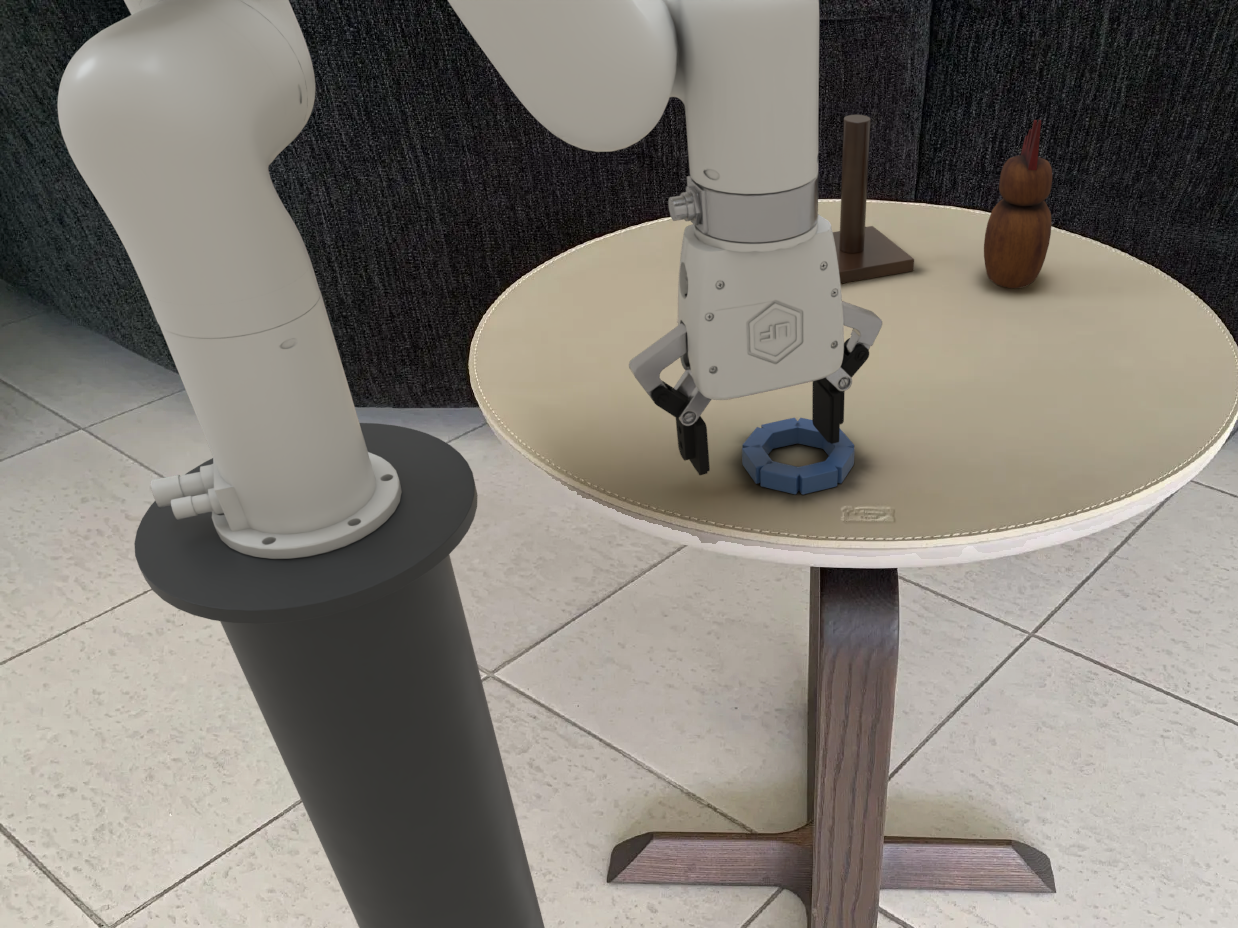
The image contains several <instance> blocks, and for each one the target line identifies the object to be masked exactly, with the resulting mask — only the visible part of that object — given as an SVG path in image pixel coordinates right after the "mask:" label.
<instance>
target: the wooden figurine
mask: <svg viewBox="0 0 1238 928" xmlns="http://www.w3.org/2000/svg"><path fill="white" fill-rule="evenodd" d="M1041 126H1042V119H1038V120H1037V119H1034V120H1033V122H1032V127H1031V129H1028V133H1027V135H1025V136H1024V140H1023V144H1022V147H1021V152H1020V154H1019V155H1014V156H1012V157H1010V158H1008V159H1007V160H1006V161H1005V162H1004V164H1003V165H1002V167H1001V171H1000V176H999V183H998V190H999V194H1000V195H1001V197H1002V199H1000V200H999V201H998V202H997V203H996V204H995V206H994V207H993V208H992V210H991V212H990V215H989V217H988V220H987V224H986V228H985V233H984V241H983V259H984V266H985V271H986V275H987V277H988V279H989V280H990V281H991V282H993V284H995V285H996V286H1000V287H1002V288H1007V289H1021V288H1025V287H1027V286H1030V285H1031V284H1032V283H1033V282H1035V281H1036V280H1037V279H1038V277H1039V275H1040V273H1041V271H1042V268H1043V266H1044V264H1045V260H1046V257H1047V253H1048V250H1049V246H1050V241H1051V235H1052V224H1053V223H1052V222H1053V221H1052V213H1051V210H1050V208H1049V206H1048V204H1047V202H1046V201H1045V200H1046V199H1048V198H1049V195H1050V194H1051V190H1052V184H1053V169H1052V166H1051V163H1050V162H1049V161H1048V159H1045V158H1043V157H1040V156H1039V151H1040V149H1039V148H1040V140H1041V139H1040V138H1041V129H1042V127H1041Z"/></svg>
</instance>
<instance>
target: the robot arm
mask: <svg viewBox="0 0 1238 928" xmlns="http://www.w3.org/2000/svg"><path fill="white" fill-rule="evenodd" d="M123 1H124V3H125V6H126V7H127V9H128V11H129V13H130V15H128V16H127V17H124V18H123V19H120V20H119V21H117V22H115V23H113V24H111V25H109V26H108V27H106V28H104V29H102V30H100V31H99V32H98V33H96V34H95V35H93V36H92V37H91V38H89V39H88V40H87V41H86V42H85V43H83V45H82V46H81V47H80V48H79V49H78V50H77V51H76V52H75V53H74V54H73V56H72V57H71V59H70V60H69V62H68V64H67V65H66V68H65V70H64V71H63V74H62V76H61V80H60V83H59V88H58V94H57V116H58V124H59V128H60V131H61V136H62V138H63V141H64V144H65V146H66V149H67V151H68V154H69V156H70V157H71V160H72V161H73V163H74V165H75V167H76V169H77V170H78V173H79V174H80V175H81V177H82V179H83V180H84V182H85V184H86V185H87V187H88V188H89V190H90V191H91V193H92V194H93V196H94V197H95V199H96V200H97V202H98V204H99V205H100V207H101V208H102V210H103V212H104V213H105V215H106V217H107V219H108V220H109V221H110V223H111V225H112V226H113V229H114V230H115V232H116V234H117V235H118V237H119V239H120V241H121V243H122V245H123V247H124V248H125V250H126V253H127V255H128V257H129V259H130V261H131V264H132V265H133V269H134V270H135V272H136V274H137V276H138V279H139V281H140V283H141V286H142V288H143V291H144V293H145V295H146V297H147V300H148V303H149V305H150V307H151V310H152V312H153V315H154V317H155V320H156V322H157V324H158V325H159V327H160V330H161V333H162V335H163V337H164V340H165V342H166V345H167V347H168V350H169V352H170V355H171V357H172V360H173V362H174V364H175V367H176V369H177V372H178V375H179V377H180V379H181V381H182V384H183V387H184V390H185V392H186V394H187V396H188V399H189V402H190V404H191V406H192V409H193V411H194V413H195V416H196V419H197V421H198V424H199V426H200V429H201V431H202V433H203V436H204V438H205V441H206V443H207V446H208V448H209V451H210V453H211V456H212V458H213V464H211V465H207V466H201V467H200V472H197V473H192V474H187V475H185V474H182V475H180V474H177V475H170V476H166V477H161V478H154V479H151V480H150V489H151V493H152V495H153V498H154V501H156V503H157V505H158V506H159V507H165V506H170V505H171V507H172V510H173V513H174V516H175V517H176V519H177V520H178V519H183V518H188V517H193V516H197V515H198V514H202V513H207V512H212V520H213V523H214V526H215V528H216V531H217V533H218V535H219V537H220V538H221V540H222V541H223V542H224V543H225V544H227V545H228V546H229V547H230V548H232V549H234V550H236V551H238V552H240V553H243V554H247V555H250V556H254V557H260V558H269V559H293V558H302V557H309V556H314V555H318V554H323V553H327V552H330V551H333V550H336V549H339V548H342V547H345V546H347V545H349V544H352V543H354V542H356V541H358V540H360V539H362V538H364V537H365V536H367V535H369V534H370V533H372V532H373V531H375V530H376V529H377V528H379V527H380V526H381V525H382V524H383V523H385V522H386V521H387V520H388V519H389V517H390V516H391V515H392V514H393V513H394V512H395V510H396V508H397V506H398V504H399V502H400V498H401V493H402V491H401V485H400V481H399V478H398V475H397V472H396V470H395V469H394V468H393V466H392V465H391V464H390V463H389V462H387V461H386V460H384V459H383V458H382V457H379V456H377V455H374V454H372V453H370V452H368V451H367V447H366V444H365V441H364V437H363V434H362V431H361V427H360V424H359V423H360V421H359V417H358V414H357V410H356V407H355V404H354V400H353V397H352V393H351V390H350V387H349V383H348V380H347V377H346V373H345V370H344V367H343V366H344V365H343V364H342V359H341V356H340V352H339V349H338V347H337V346H338V345H337V342H336V340H335V335H334V332H333V329H332V326H331V322H330V319H329V315H328V312H327V309H326V305H325V301H324V298H323V296H322V295H323V294H322V292H321V290H320V286H319V284H318V280H317V276H316V273H315V270H314V267H313V264H312V261H311V257H310V255H309V252H308V250H307V247H306V244H305V242H304V240H303V237H302V235H301V233H300V231H299V228H298V227H297V226H296V224H295V222H294V220H293V218H292V217H291V215H290V213H289V212H288V210H287V209H286V207H285V205H284V203H283V201H282V200H281V198H280V196H279V194H278V192H277V190H276V188H275V185H274V184H273V183H274V182H273V181H272V178H271V175H270V171H269V166H270V165H271V164H272V163H273V162H274V160H275V159H276V158H277V156H278V155H279V154H280V153H281V152H282V151H284V149H286V147H288V146H289V145H291V143H292V142H293V141H294V140H295V139H296V138H297V137H298V136H299V134H300V133H301V132H302V130H303V129H304V128H305V126H306V125H307V123H308V121H309V119H310V117H311V115H312V112H313V109H314V104H315V101H316V100H315V99H316V77H315V70H314V67H313V62H312V57H311V55H310V51H309V48H308V45H307V42H306V40H305V37H304V34H303V32H302V31H303V30H301V27H300V24H299V22H298V19H297V17H296V15H295V12H294V10H293V7H292V4H291V3H290V0H123ZM447 2H448V3H449V5H450V6H451V8H452V9H453V12H455V14H456V15H457V17H458V19H460V21H461V22H462V24H463V26H464V27H465V28H466V29H467V31H468V33H469V34H470V35H471V37H472V39H474V41H475V42H476V43H477V45H478V46H479V48H481V51H483V53H484V54H485V56H486V57H487V59H488V60H489V61H490V63H491V64H492V65H493V67H494V69H496V70H497V72H498V74H499V76H501V78H502V79H503V80H504V82H505V83H506V85H507V86H508V87H509V89H510V90H511V91H512V93H513V94H514V95H515V96H516V98H517V100H519V101H520V103H521V104H522V105H523V106H524V107H525V109H526V110H527V111H528V112H529V114H531V115H532V116H533V118H534V119H535V120H536V121H537V122H538V123H540V124H541V125H542V126H543V127H544V128H545V129H546V130H548V131H549V133H551V134H552V135H553V136H555V137H556V138H558V139H560V140H562V141H563V142H565V143H566V144H568V145H571V146H574V147H576V148H578V149H580V150H584V151H590V152H595V153H601V152H602V153H605V152H607V153H608V152H617V151H620V150H623V149H626V148H629V147H631V146H633V145H634V144H637V143H639V141H641V140H643V139H644V138H645V137H646V136H647V135H648V134H649V133H650V132H652V130H653V129H654V128H655V127H656V126H657V124H658V123H659V121H660V119H661V118H662V116H663V114H664V112H665V110H666V108H667V105H668V103H669V101H670V98H677V99H679V101H681V102H682V103H683V105H684V110H685V112H684V113H685V124H686V136H687V139H686V140H687V152H688V155H687V156H688V169H689V175H688V176H686V187H685V192H681V193H680V195H676V196H669V197H668V200H667V201H668V202H667V205H668V206H667V207H668V212H669V216H670V218H671V220H672V221H673V222H677V221H684V222H691V224H688V225H687V226H686V227H685V228H684V231H683V235H682V240H681V241H682V242H681V250H680V257H679V258H680V259H679V268H678V271H679V272H678V279H677V280H678V281H677V325H676V326H675V327H674V328H673V329H671V330H670V331H669V332H667V333H665V335H663V336H662V337H660V338H658V339H657V340H656V341H654V343H652V344H651V345H649V346H648V347H647V348H645V349H644V350H641V352H640V353H638V354H637V355H635V356H634V357H633V358H632V359H631V360H630V361H629V363H628V369H629V370H630V372H631V373H632V375H633V376H634V378H635V379H636V381H637V382H638V383H639V385H640V386H641V388H642V389H643V390H644V391H645V393H646V394H647V395H648V396H649V398H650V399H651V400H652V402H653V403H654V405H655V406H657V407H659V408H660V409H662V410H663V411H664V412H666V413H668V414H669V415H671V416H673V418H675V425H676V437H677V446H678V447H677V448H678V451H679V454H680V456H681V458H682V460H683V461H685V462H686V461H690V463H691V465H692V466H693V468H694V470H695V472H697V474H698V476H704V475H707V474H708V472H710V469H711V468H710V467H711V466H710V455H709V442H708V427H707V423H706V422H705V421H704V419H703V417H702V416H701V415H702V414H703V413H704V411H705V410H706V408H707V407H708V405H709V404H710V402H711V401H712V400H713V401H727V400H728V401H729V400H733V399H739V398H743V397H748V396H749V397H750V396H754V395H757V394H763V393H767V392H772V391H777V390H781V389H785V388H790V387H794V386H798V385H799V386H800V385H803V384H808V383H811V382H812V397H811V398H812V400H811V401H812V406H811V407H812V413H811V414H812V419H811V420H812V422H813V425H814V427H815V428H816V429H817V430H818V431H819V432H820V434H821V435H822V436H823V437H824V438H825V440H826V441H827V442H828V443H829V442H830V443H831V444H833V443H838V442H839V432H840V429H841V428H840V427H841V425H843V424H844V422H845V394H846V393H845V392H846V391H848V390H849V389H850V388H851V387H852V384H853V377H854V376H855V374H856V373H857V372H858V371H859V370H860V369H861V367H863V365H864V364H865V363H866V362H867V361H868V359H869V357H870V348H871V347H873V345H874V343H875V341H876V339H877V338H878V335H879V333H880V331H881V329H882V327H883V320H882V319H881V318H880V316H878V315H877V314H876V313H875V312H874V311H873V310H870V309H867V308H863V307H861V306H858V305H855V304H852V303H850V302H846V301H844V300H843V295H842V283H841V284H840V276H839V268H838V260H837V253H836V247H835V242H834V237H833V232H834V231H833V228H832V224H831V222H830V221H829V220H828V219H827V218H825V217H823V216H821V215H820V213H819V105H820V104H819V101H820V100H819V99H820V98H819V91H820V89H819V87H820V86H819V85H820V69H819V68H820V0H447ZM845 327H847V328H851V332H850V337H849V338H847V339H846V340H845V335H844V334H845V330H844V329H845ZM679 359H680V363H681V366H682V368H683V369H684V372H683V373H682V374H681V376H680V378H679V379H678V381H677V382H676V383H675V385H674V387H673V386H671V385H670V384H668V383H667V382H665V381H664V380H662V379H661V373H662V372H663V371H664V370H665V369H666V368H668V367H669V366H670V365H672V364H673V363H674V362H676V361H678V360H679Z"/></svg>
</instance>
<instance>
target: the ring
mask: <svg viewBox="0 0 1238 928" xmlns="http://www.w3.org/2000/svg"><path fill="white" fill-rule="evenodd" d="M797 444H798V445H804V446H809V447H813V448H817V449H822V450H823V451H824V452H825V453H826V454H827V458H826V459H825V460H823V461H819V462H814V463H810V464H805V465H802V466H795V465H792V464H787V463H782V462H778V461H774V460H773V459H772V458H771V457H770V456H769V454H770V453H771V452H772V450H774V449H778V448H784V447H786V446H787V447H788V446H792V445H797ZM855 453H856V450H855V444H854V443H853V441H852V440H851V439H850V438H849V437H848V436H847V435H846V433H844V431H843V429H841V428H840V432H839V442H838V443H833V444H831V443H830V442H829V443H828V442H827V441H826V440H825V438H824V437H823V436H822V435H821V434H820V432H819V431H818V430H817V429H816V428H815V427H814V425H813V422H812V419H809V418H804V417H800V418H799V419H798V420H797V419H796V417H791V418H785V419H782V420H777V421H772V422H767V423H762V424H761V425H760V427H759V426H757V427H755V429H754V430H753V431H752V433H750V435H749V436H748V437H747V439H746V440H745V441H744V442H743V443H742V444H741V458H742V459H741V461H742V462H741V463H742V466H743V468H744V470H746V472H747V473H748V474H749V476H750V477H751V479H752V480H753V482H754V484H756V485H757V484H760V487H762V488H767V489H771V490H774V491H779V492H783V493H788V494H792V495H797V494H798V493H800V494H801V495H807V494H811V493H815V492H819V491H823V490H828V489H833V488H836V487H838V484H843V482H844V481H845V480H846V477H847V476H848V475H849V473H850V471H851V470H852V468H853V467H854V465H855Z"/></svg>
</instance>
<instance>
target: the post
mask: <svg viewBox="0 0 1238 928" xmlns="http://www.w3.org/2000/svg"><path fill="white" fill-rule="evenodd" d="M842 131H843V133H842V158H841V160H842V161H841V186H840V187H841V188H840V189H841V190H840V217H839V218H840V219H839V220H840V221H839V230H838V231H837V230H836V231H832V232H833V237H834V242H835V247H836V253H837V260H838V268H839V276H840V284H841V285H842V284H847V283H852V282H853V283H854V282H857V281H858V282H859V281H864V280H868V279H875V278H880V277H886V276H891V275H898V274H903V273H908V272H913V271H914V268H915V258H914V257H912V255H910V254H909V253H908V252H906V251H905V250H903V248H901V247H900V246H898V245H897V244H896V243H895V242H894V241H892V240H891V239H890V238H888V237H887V236H886V235H885V234H883V233H882V232H881V231H880V230H879V229H877V228H876V227H875V226H873V225H870V226H866V218H867V215H866V214H867V198H868V179H869V178H868V176H869V158H870V141H871V140H870V139H871V137H870V136H871V118H870V117H869V116H867V115H865V114H849V115H846V116H844V118H843V130H842Z"/></svg>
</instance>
